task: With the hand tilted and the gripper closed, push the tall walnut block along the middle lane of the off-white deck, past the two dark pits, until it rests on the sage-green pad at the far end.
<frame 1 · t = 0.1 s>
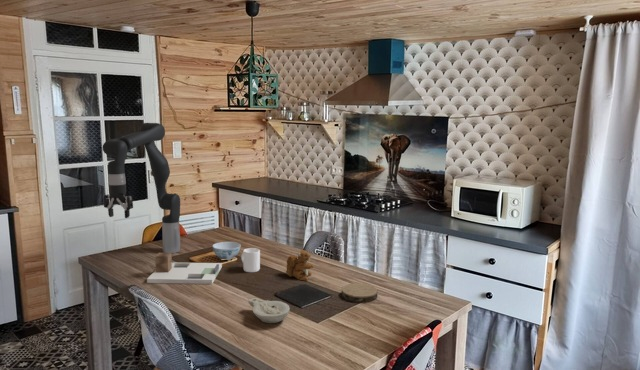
hand: (119, 217, 225), 29 cm above the table, tool pointing down, fingers open, 8 cm apart
block: (163, 270, 233), point 2 cm above the table, touching deck
deck: (186, 274, 234), on the table
wood slice: (359, 296, 212), on the table
oil lamp: (265, 317, 188), on the table
mug: (249, 269, 244), on the table
chinaware: (226, 259, 260), on the table
stuffed squirrel: (298, 276, 235), on the table
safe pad: (210, 274, 234), on the table
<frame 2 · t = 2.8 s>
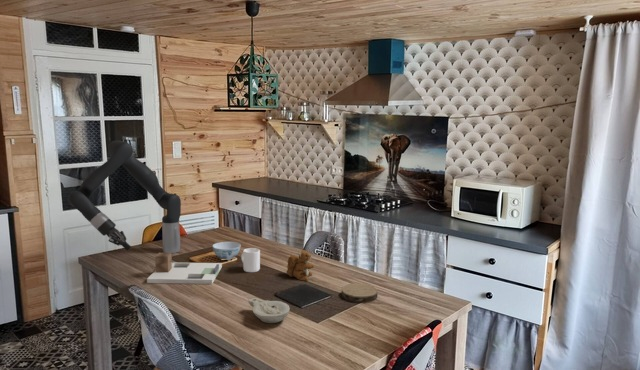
hand: (129, 248, 232), 13 cm above the table, tool tilted 45°, fingers closed
nothing on the table moved.
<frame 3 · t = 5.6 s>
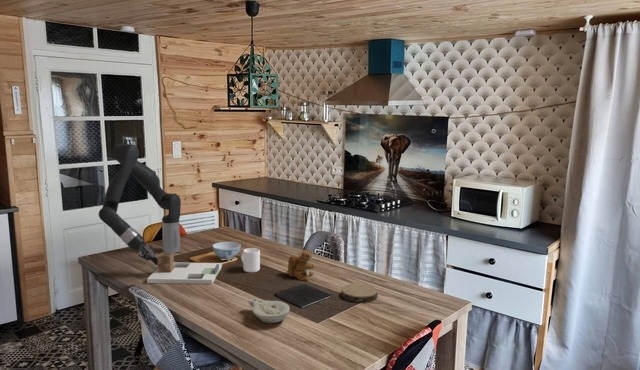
hand: (158, 263, 233), 5 cm above the table, tool tilted 45°, fingers closed
block: (166, 270, 233), point 2 cm above the table, touching deck
everything else where it was.
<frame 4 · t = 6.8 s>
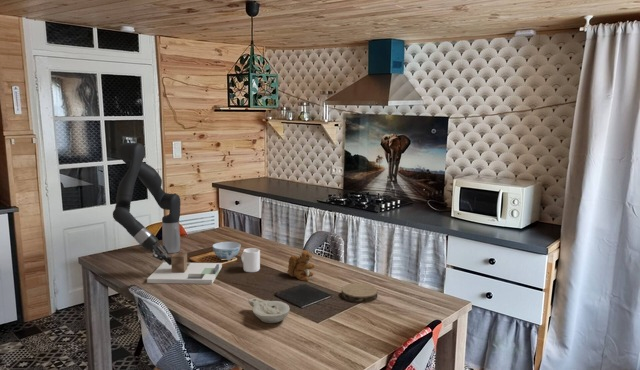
hand: (172, 263, 233), 5 cm above the table, tool tilted 45°, fingers closed
block: (179, 270, 233), point 2 cm above the table, touching deck
everything else where it was.
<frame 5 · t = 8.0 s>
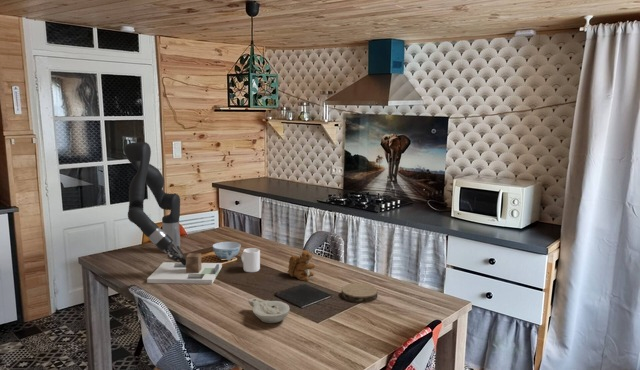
hand: (186, 263, 233), 5 cm above the table, tool tilted 45°, fingers closed
block: (193, 270, 233), point 2 cm above the table, touching deck, gripper
everything else where it was.
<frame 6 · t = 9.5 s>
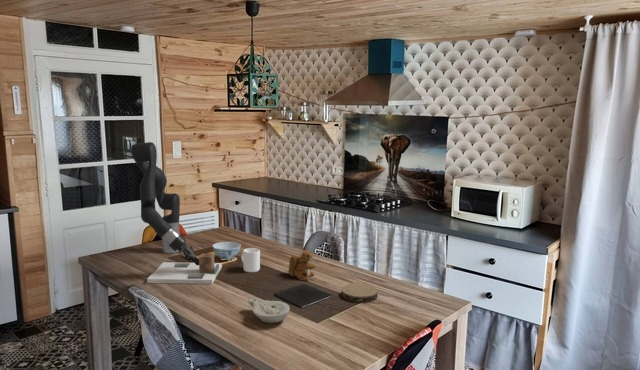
hand: (199, 264, 233), 5 cm above the table, tool tilted 45°, fingers closed
block: (206, 271, 234), point 2 cm above the table, touching gripper, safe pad
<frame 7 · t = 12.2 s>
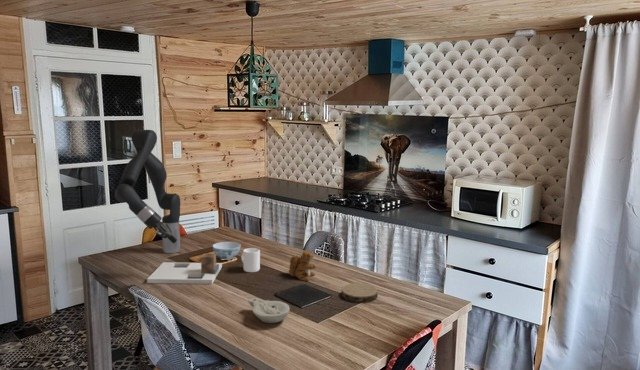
hand: (175, 241, 232), 16 cm above the table, tool tilted 45°, fingers closed
block: (208, 271, 234), point 2 cm above the table, touching deck, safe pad
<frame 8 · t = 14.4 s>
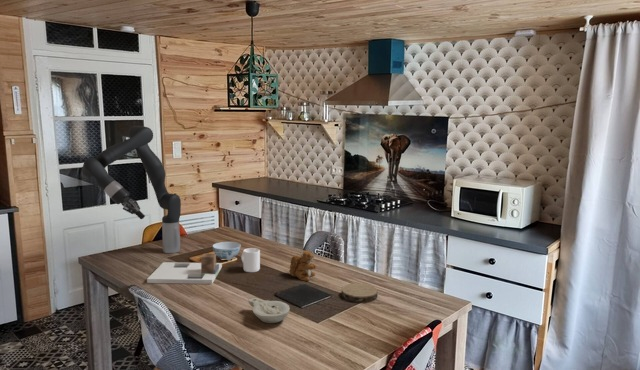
hand: (143, 217, 230), 28 cm above the table, tool tilted 45°, fingers closed
at the end: block 0.6 cm from the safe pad (horizontally); block point 2.0 cm above the table; block tilted 0° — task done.
